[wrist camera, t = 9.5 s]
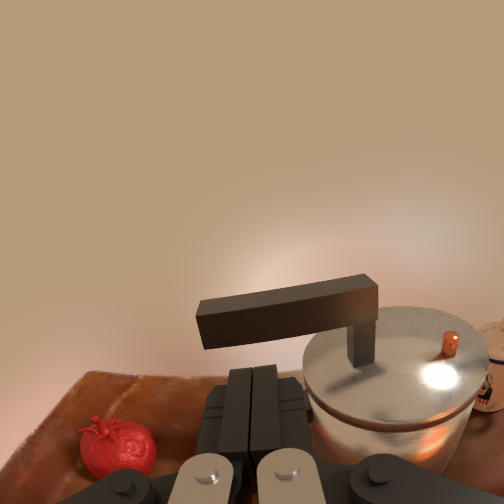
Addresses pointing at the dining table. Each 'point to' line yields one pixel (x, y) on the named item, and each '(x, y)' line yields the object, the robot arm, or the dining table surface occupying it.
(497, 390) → the teacup with lid
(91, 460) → the pomegranate
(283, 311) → the cooker lid
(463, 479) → the dining table surface
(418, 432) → the cooker pot
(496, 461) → the dining table surface
